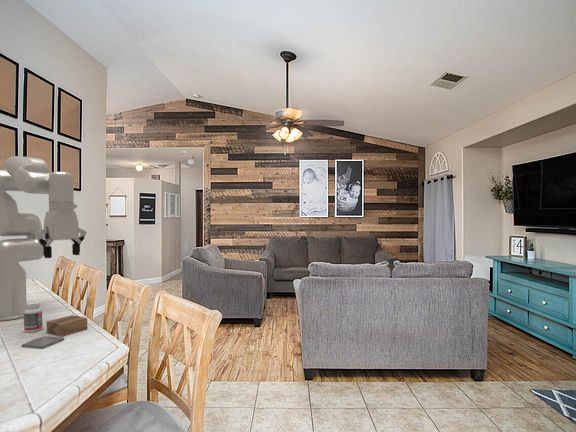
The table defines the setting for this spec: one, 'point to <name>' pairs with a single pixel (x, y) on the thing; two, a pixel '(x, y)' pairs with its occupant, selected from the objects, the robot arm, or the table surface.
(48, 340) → the slate coaster
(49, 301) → the table surface
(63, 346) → the table surface
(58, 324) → the walnut block
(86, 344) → the table surface
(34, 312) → the pill bottle
